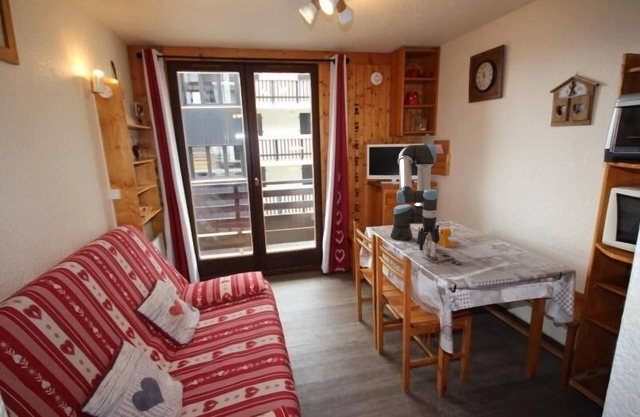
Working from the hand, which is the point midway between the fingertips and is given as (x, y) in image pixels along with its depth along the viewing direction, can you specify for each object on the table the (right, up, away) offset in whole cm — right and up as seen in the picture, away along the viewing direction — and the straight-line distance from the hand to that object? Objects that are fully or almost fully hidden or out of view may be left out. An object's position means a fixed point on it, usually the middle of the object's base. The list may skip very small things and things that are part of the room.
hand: (427, 254), depth 189 cm
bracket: (+19, +2, +19) cm, 27 cm away
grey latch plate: (+11, -4, -7) cm, 13 cm away
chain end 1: (+5, -2, -6) cm, 8 cm away
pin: (0, -2, 0) cm, 2 cm away
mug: (+4, 0, +13) cm, 14 cm away
